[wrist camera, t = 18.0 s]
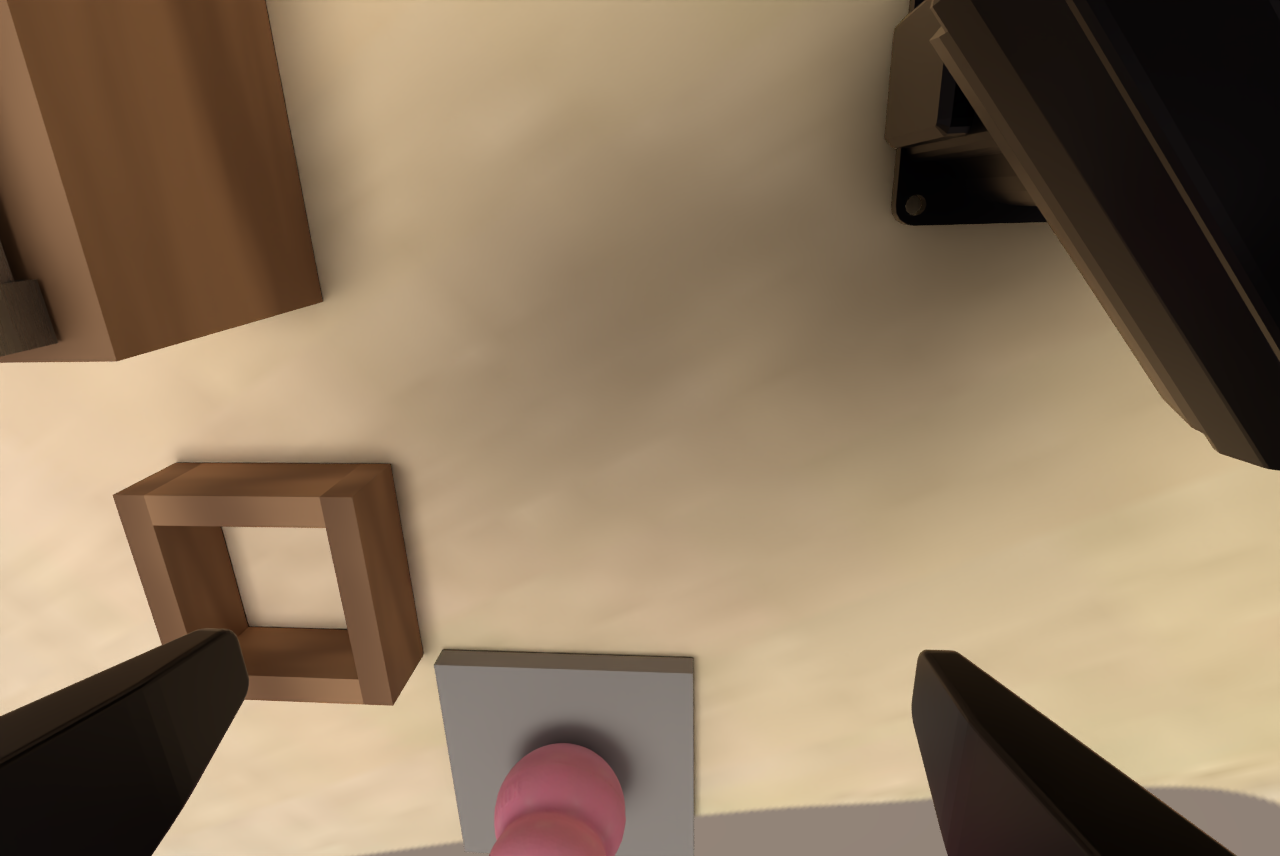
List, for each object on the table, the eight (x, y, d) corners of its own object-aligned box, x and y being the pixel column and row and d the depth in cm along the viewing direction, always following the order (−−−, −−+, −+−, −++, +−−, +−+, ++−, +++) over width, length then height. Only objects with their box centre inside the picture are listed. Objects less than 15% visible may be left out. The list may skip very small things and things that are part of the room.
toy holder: (284, -158, 16) (-40, -430, 9) (423, 655, 24) (309, 845, 17) (2, -134, 17) (-501, -368, 10) (229, 648, 25) (43, 828, 18)
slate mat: (692, 657, 23) (692, 673, 22) (694, 846, 26) (693, 866, 25) (442, 649, 24) (433, 665, 23) (471, 833, 27) (465, 852, 26)
